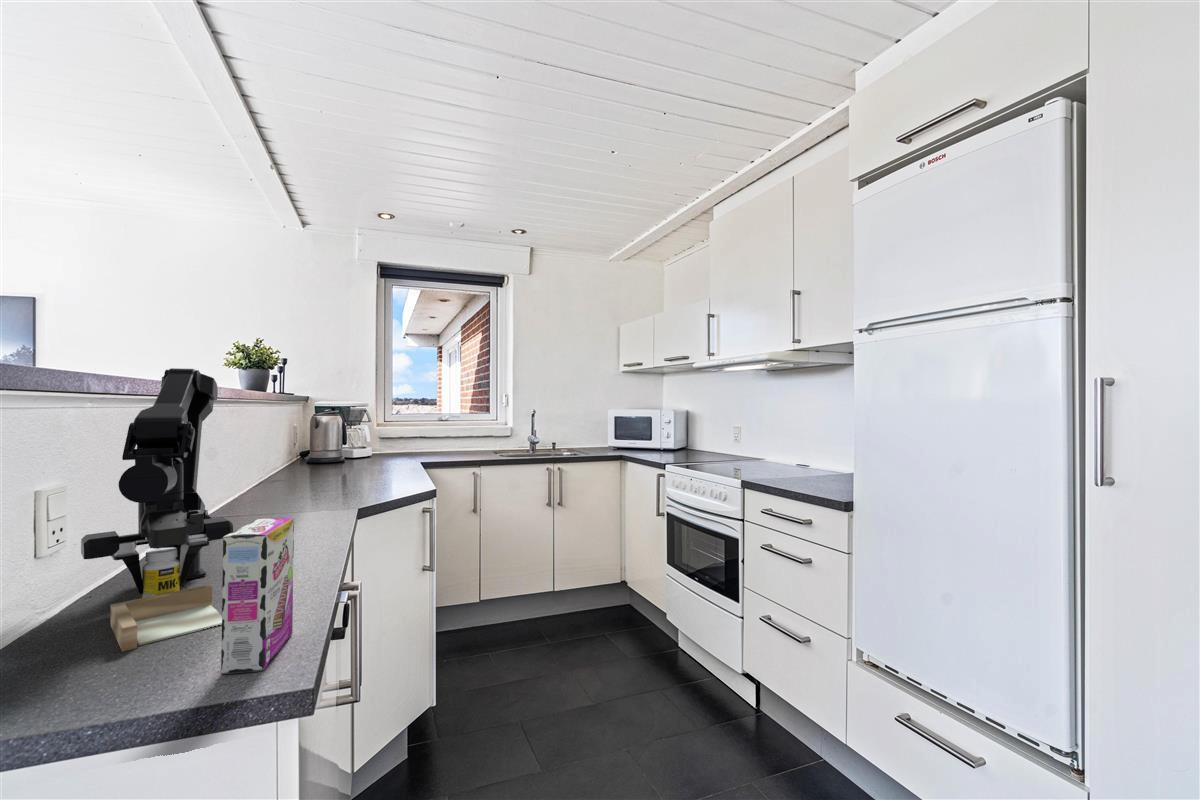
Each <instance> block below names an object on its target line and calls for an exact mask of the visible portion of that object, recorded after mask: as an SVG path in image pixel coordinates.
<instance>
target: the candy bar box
mask: <svg viewBox="0 0 1200 800" xmlns="http://www.w3.org/2000/svg"><path fill="white" fill-rule="evenodd" d="M294 530H295V518H294V517H274V518H273V517H271V518H259V519H258V518H257V519H256V520H254V521H252V522H250V523H248V524H245V525H243V526H241V527H240V528H239V529H236V530H233V532H232V533H230V534H228V535H226V536H224V537H223V539H222V583H221V584H222V587H221V590H222V591H221V600H222V601H221V603H222V604H221V606H222V607H221V616H222V625H221V644H220V645H221V646H220V647H221V652H220V653H221V655H220V656H221V657H220V660H221V661H220V663H221V664H220V665H221V667H220V674H221V675H231V674H241V673H243V674H245V673H255V672H262V671H264V670H266V668H268V667H267V666H268V665H270V663H271V662H272V660H273V659H274V658H275V656H276V655H277V653H279V651H280V650H281V649H282V647H284V645H285V644H286V643H287V641H288V640H289V639H290V637H291V636H292V635H293V626H294V625H293V623H294V622H293V614H294V613H293V612H294V611H293V610H294V609H293V608H294V607H293V605H294V603H293V602H294V601H293V600H294V558H295V557H294V555H295V554H294V549H295V547H294V546H295V544H294V543H295V542H294V541H295V538H294V536H295V535H294V533H295V531H294Z"/></svg>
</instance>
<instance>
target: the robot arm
mask: <svg viewBox="0 0 1200 800" xmlns="http://www.w3.org/2000/svg"><path fill="white" fill-rule="evenodd" d="M218 388H219V387H218V383H217V381H216V380H215V378H214V377H212V376H209V375H206V374H204V373H201V372H200V370H197V369H196V368H169V369H165V370H164V375H163V376H162V377H161V385H160V391H159V392H158V395H157V397H156V399H155V401H154V404H153V405H152V406H150V407H148V408H144V409H142V410H140V411H139V413H138V414H137V415H136V416H135V418H134V420H133V422H130V423H129V424H128V429H127V433H126V437H125V444H124V448H123V452H122V455H121V456H122V457H121V459H122V461H134V465H132V466H130V467H129V468H127V469H126V470H124V472H123V473H122V474H121V476H120V478H119V480H118V490H119V492H120V493H121V495H122V496H123V497H124V498H125V499H127V500H128V501H130V502H133V503H137V504H138V510H137V511H138V513H137V514H138V517H137V520H138V521H137V525H138V526H137V527H138V529H137V532H138V533H131V534H125V535H119V534H118V533H117V532H116V530H113V531H105V532H103V531H102V532H97V533H89V534H85V535H84V536H83V537H82V538H81V541H80V554H81V556H82V558H83V560H93V559H100V558H106V557H111V558H112V560H114V561H123V563H124V565H125V566H126V568H127V570H128V572H129V574H130V576H131V579H132V581H133V584H134V586H135V589H136V590H137V593H138V595H141V596H142V594H143V582H142V570H141V564H140V553H139V552H138V551H137V550H136V549H137V546H144V545H148V547H149V549H153V550H154V549H160V548H177V558H175V559H177V560H179V562H180V588H181V587H184V585H185V584H186V583H185V582H186V580H189V579H194V578H199V577H200V576H201V577H206V576H207V571H205V570H204V569H203V568H202V567H201V550H202V549H203V548H205V547H208V546H210V542H213V541H216V540H217V541H218V540H223V537H224V536H226V535H228V534H230V533H232V532H234V525H233V523H232V522H231V521H230V520H228V519H227V518H224V517H223V516H220V517H213V518H212V517H211V516H210V515H209V511H208V510H207V509H206V505H205V503H204V501H203V499H202V498H201V497H200V495H199V493H198V492H197V490H198V489H197V487H198V475H199V464H200V451H201V439H202V431H203V429H202V427H203V422H204V421H205V420H206V418H208V417H209V415H210V414H212V412H213V411H214V401H217V400H218V393H219V392H218V390H219V389H218Z"/></svg>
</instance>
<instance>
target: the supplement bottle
mask: <svg viewBox="0 0 1200 800" xmlns="http://www.w3.org/2000/svg"><path fill="white" fill-rule="evenodd" d="M175 558H177V548H157V549H154V548H153V549H150V550H148V551H146V552H145V562H146V563H145V564H143V566H142V570H141V575H142V582H143V594H141V598H146V597H151V596H155V595H160V594H165V593H170V592H175V591H180V588H181V587H180V562H179V560H177V559H175Z"/></svg>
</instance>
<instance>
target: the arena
mask: <svg viewBox="0 0 1200 800" xmlns="http://www.w3.org/2000/svg"><path fill="white" fill-rule="evenodd" d="M109 609H110V616H109V617H110V619H109V620H110V628H111V630H112V632H113V634H114V637H115V639H116V640H117V644H118V645H119V648H120V650H121V653H122V652H127V651H131V650H135V649H138V647H139V646H144V645H148V644H152V643H155V642H159V641H163V640H168V639H171V638H174V637H179V636H183V635H187V634H191V633H194V632H195V633H196V632H199V631H203V629H204V630H207V628H208V629H210V627H212V628H215V627H214V626H216V627H219V626H218V625H220V626H222V613H220V612H219V611H218V610H217V609H216V608H215V607H213V585H212V584H206V585H201V586H197V587H191V588H186V589H181V590H180V591H175V592H170V593H165V594H160V595H155V596H151V597H146V598H142V597H141V598H137V599H132V600H126V601H122V602H116V603H111V604H110V608H109Z"/></svg>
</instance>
